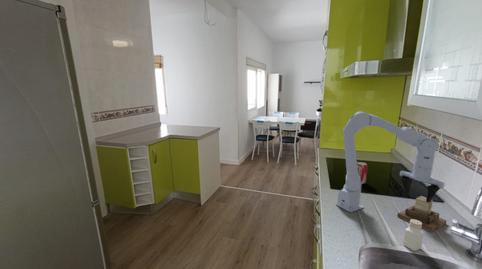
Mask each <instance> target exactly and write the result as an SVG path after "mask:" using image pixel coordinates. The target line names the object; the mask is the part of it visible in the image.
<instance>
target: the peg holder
mask: <svg viewBox="0 0 482 269" xmlns="http://www.w3.org/2000/svg"><path fill="white" fill-rule="evenodd" d="M414 209H415V204H414V205H411V206H410V207H408V208H405V210H402V211H400V212H398V213H397V215H396V217H398V218H399V219H402V220H404V221H406V222H408V223H410V220H411V219H415V220H418V221H420V222H421V223H422V228H421V229H423V230H426V231H427V232H430V233H432V232H434V231H436V230H438V229H439V228H441V227H443V226H445V225H446V224H447V221H448V220H447V219H444V218H441V217H440V213H439V212H436V211H433V210H431V213H430V216H428V217H427V216H424V215H422V214H419V213H417V212H414Z"/></svg>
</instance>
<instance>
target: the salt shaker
mask: <svg viewBox="0 0 482 269" xmlns="http://www.w3.org/2000/svg"><path fill="white" fill-rule="evenodd" d="M408 224H409V225H408V227H406V228H405V230H404V234H403V235H404V236H403V241H402V242H403V243H402V244H403V245H404V247H406V248H408V249H410V250H412V251H414V252H417V251H418V250H420V249H421V250H422V246H423V245H422V244H423V240H424V232H423V231H422V230H421V229H423V228H422V223H421V222H420V221H418V220H415V219H411V220H410V222H409V223H408Z"/></svg>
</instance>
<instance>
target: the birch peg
mask: <svg viewBox="0 0 482 269" xmlns="http://www.w3.org/2000/svg"><path fill="white" fill-rule="evenodd" d="M426 199H427V197H425V196H423V195H420V196H418V197H416V198H415V202H414V203H415V204H414V205H415V209H414V212H417V213H419V214H422V215H424V216H427V217H428V216H430V213H431V211H432V207H433V200H434V199H432V200H431V202H429V203H428V202H426Z"/></svg>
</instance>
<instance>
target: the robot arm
mask: <svg viewBox="0 0 482 269" xmlns="http://www.w3.org/2000/svg"><path fill="white" fill-rule="evenodd" d="M367 126H369V127H379V128H381V129H383V130H386V131H387V132H390V133H392V134H395V135H396V139H398V140H399V141H402V142H403V143H406V144H408V145H409V146H411V147H415V148H416V152H415V157H414V161H413V167H412V169H413V170H412V172H409V171H405V170H400V172H399V176H400V182H402V183H401V184H402V186H403V190H404V191H403V192H404V194H405V195H409V194H410V192H411V185H412V182H413V180H415V181H417V182H421V183H424V184H428V185H427V196H426V198H427V199H426V202H428V203H429V202H431V200H433V198H434V196H435V195H436V194H437V192H438V191H439V190H440V189H444V188H445V182H444V181H440V180H438V179H435V178H433V177H431V176H432V170H433V167H434V166H433V165H434V159H435V153H436V152H437V151H438V150H439V148H440V146H439V142H437V140H436V139H434V138H432V137H430V136H428V135H427V133H421V132H419V131H417V130H415V128H414V127H411V126H409V127H408V126H403V127H400V126H398V125H396V124H394V123H392V122H390V121H388V120H386V119H384V118H381V117H380V116H377V115H374V114H372V113H367V112H364V111H357V112H355V113H354V114H352V115H351V116H350V118H349V120H348V121H347V123H346V124H345V126H344V127H343V129H342V130H343V131H342V136H343V145H344V156H345V158H344V159H345V167H346V175H345V184H344V185H343V188H342V189H341V190H339V192H338V193H337V203H335V205H336V206H337V207H339V208H342V209H343V210H345V211H347V212H349V213H353V212H356V211H359V210H361V209H363V208H364V206H363V205H361V204H360V203H361V193H362V184H361V181H360V175H359V174H358V170H357V162H358V161H357V160H358V159H357V152H356V151H357V150H356V141H355V139H356V138H355V135H356V134H357V133H358V132H359V131H360V130H362V129H364V128H367Z"/></svg>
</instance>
